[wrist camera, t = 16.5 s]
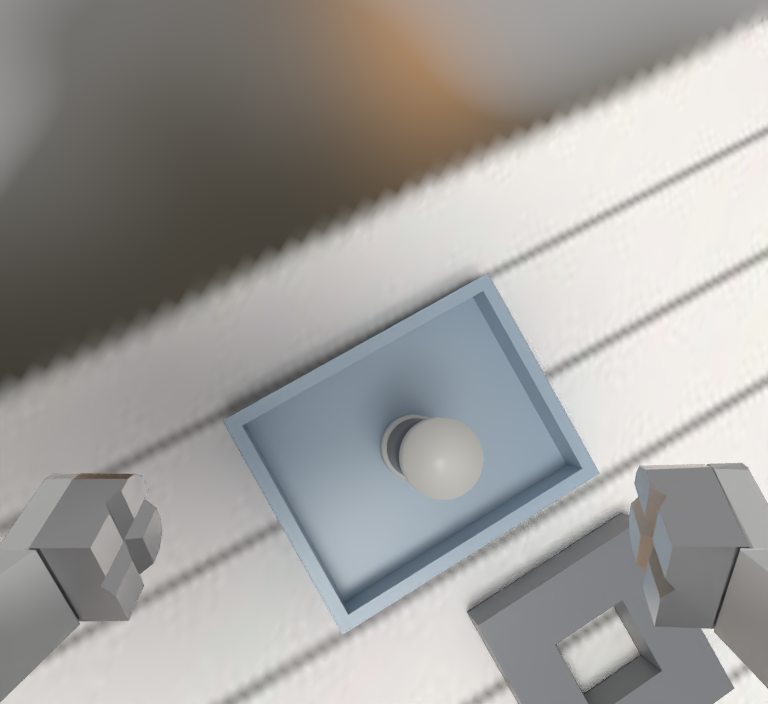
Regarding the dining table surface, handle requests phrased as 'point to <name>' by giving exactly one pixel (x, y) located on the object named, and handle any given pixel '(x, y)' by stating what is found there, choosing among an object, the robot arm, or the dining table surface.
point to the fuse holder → (578, 607)
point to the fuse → (433, 454)
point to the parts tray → (379, 484)
